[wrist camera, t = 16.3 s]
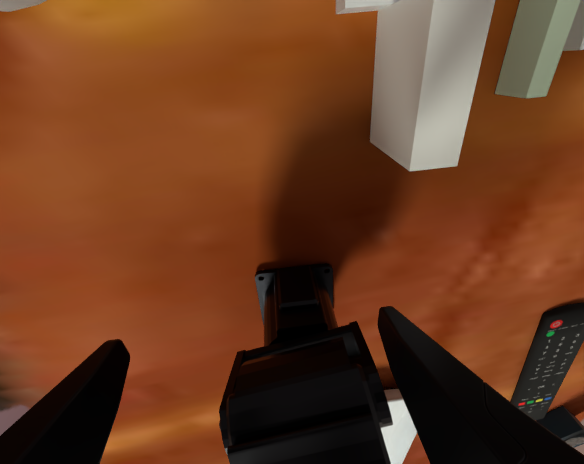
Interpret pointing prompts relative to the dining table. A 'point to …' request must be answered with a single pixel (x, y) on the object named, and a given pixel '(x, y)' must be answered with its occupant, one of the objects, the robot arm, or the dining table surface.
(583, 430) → the abstract loop sculpture
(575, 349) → the remote control
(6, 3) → the donut
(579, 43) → the tile
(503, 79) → the green c-shaped block
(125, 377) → the robot arm
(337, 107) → the dining table surface
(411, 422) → the salad plate
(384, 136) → the scraper
